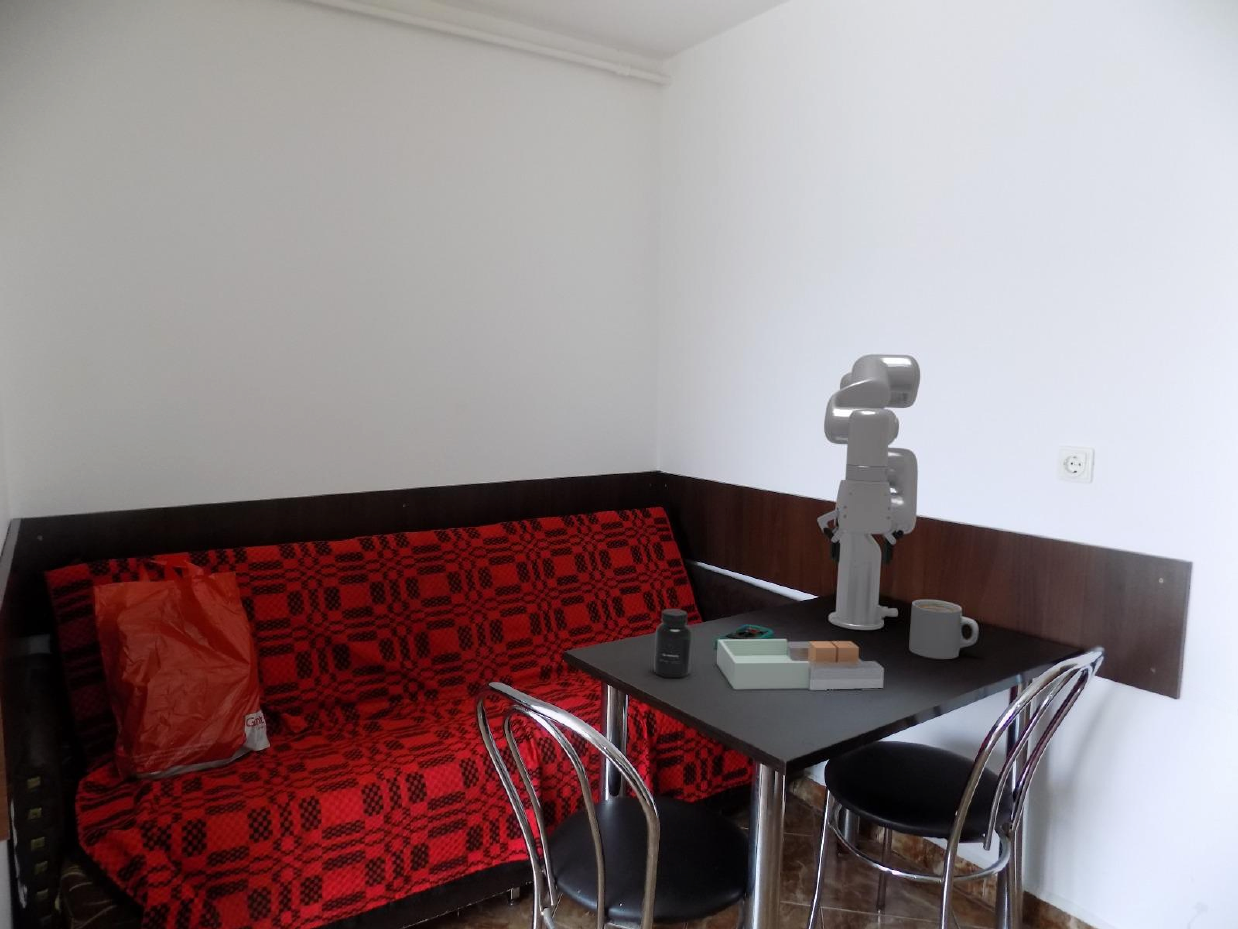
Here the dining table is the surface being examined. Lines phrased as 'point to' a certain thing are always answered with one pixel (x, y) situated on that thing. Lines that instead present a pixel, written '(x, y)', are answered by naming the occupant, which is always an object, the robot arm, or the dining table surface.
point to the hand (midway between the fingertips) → (860, 562)
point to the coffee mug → (939, 629)
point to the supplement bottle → (672, 645)
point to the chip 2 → (846, 651)
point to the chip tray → (760, 664)
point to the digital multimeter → (747, 633)
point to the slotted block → (837, 671)
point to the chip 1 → (821, 651)
